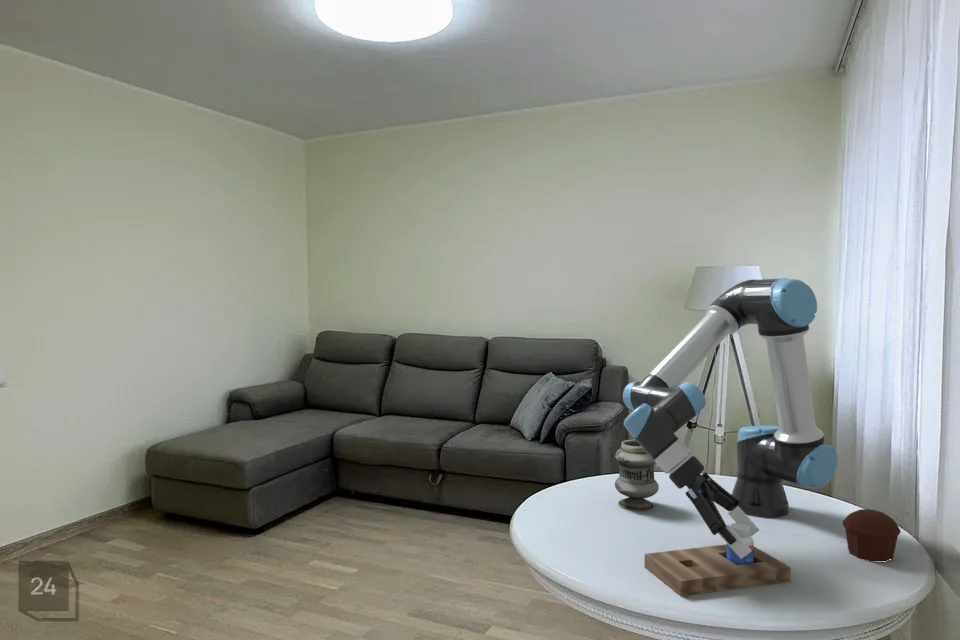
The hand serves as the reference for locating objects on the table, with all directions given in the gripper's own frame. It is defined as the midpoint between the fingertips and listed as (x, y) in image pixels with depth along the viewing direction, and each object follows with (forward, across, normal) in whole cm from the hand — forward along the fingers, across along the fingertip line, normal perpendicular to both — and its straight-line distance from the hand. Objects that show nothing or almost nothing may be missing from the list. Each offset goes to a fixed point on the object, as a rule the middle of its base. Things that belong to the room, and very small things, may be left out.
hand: (750, 543), depth 138 cm
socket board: (0, +4, -9) cm, 10 cm away
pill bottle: (+3, 0, -6) cm, 7 cm away
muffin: (+21, -25, +11) cm, 34 cm away
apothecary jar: (-19, -32, -29) cm, 47 cm away
